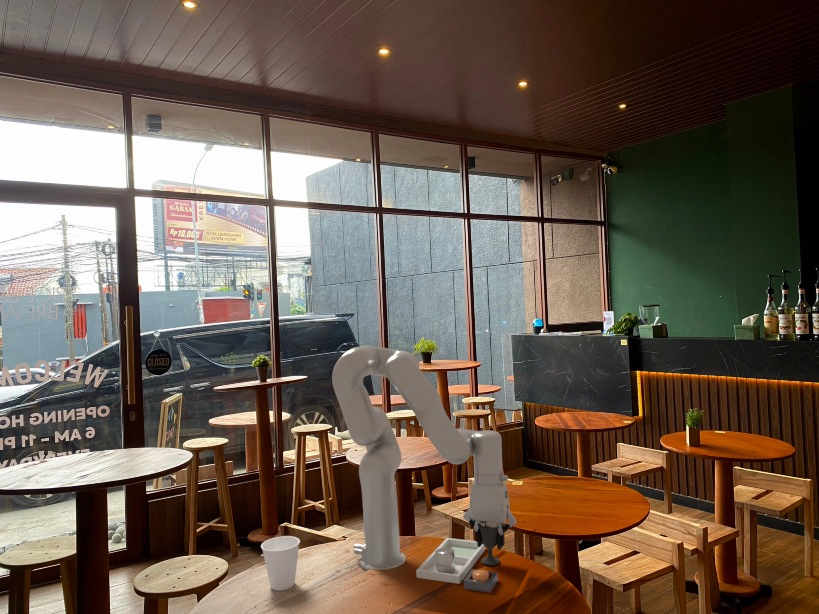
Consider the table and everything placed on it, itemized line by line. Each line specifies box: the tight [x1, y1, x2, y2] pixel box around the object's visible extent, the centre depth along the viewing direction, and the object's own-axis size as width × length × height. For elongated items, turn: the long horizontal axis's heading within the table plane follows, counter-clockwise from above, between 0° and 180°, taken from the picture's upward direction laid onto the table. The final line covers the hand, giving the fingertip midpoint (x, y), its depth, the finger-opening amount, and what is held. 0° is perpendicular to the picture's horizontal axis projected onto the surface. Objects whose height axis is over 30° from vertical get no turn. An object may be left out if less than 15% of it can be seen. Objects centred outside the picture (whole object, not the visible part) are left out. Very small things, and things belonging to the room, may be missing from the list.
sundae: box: [477, 521, 500, 566], centre depth 158 cm, size 7×7×15 cm
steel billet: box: [434, 548, 455, 574], centre depth 154 cm, size 5×5×5 cm
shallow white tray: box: [415, 537, 487, 585], centre depth 159 cm, size 12×22×3 cm, turn 156°
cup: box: [260, 535, 301, 592], centre depth 153 cm, size 10×10×11 cm
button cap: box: [472, 569, 489, 582], centre depth 145 cm, size 4×4×2 cm
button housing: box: [463, 568, 499, 594], centre depth 145 cm, size 7×7×3 cm
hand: (490, 545), depth 158 cm, fingers closed on sundae, 4 cm apart
